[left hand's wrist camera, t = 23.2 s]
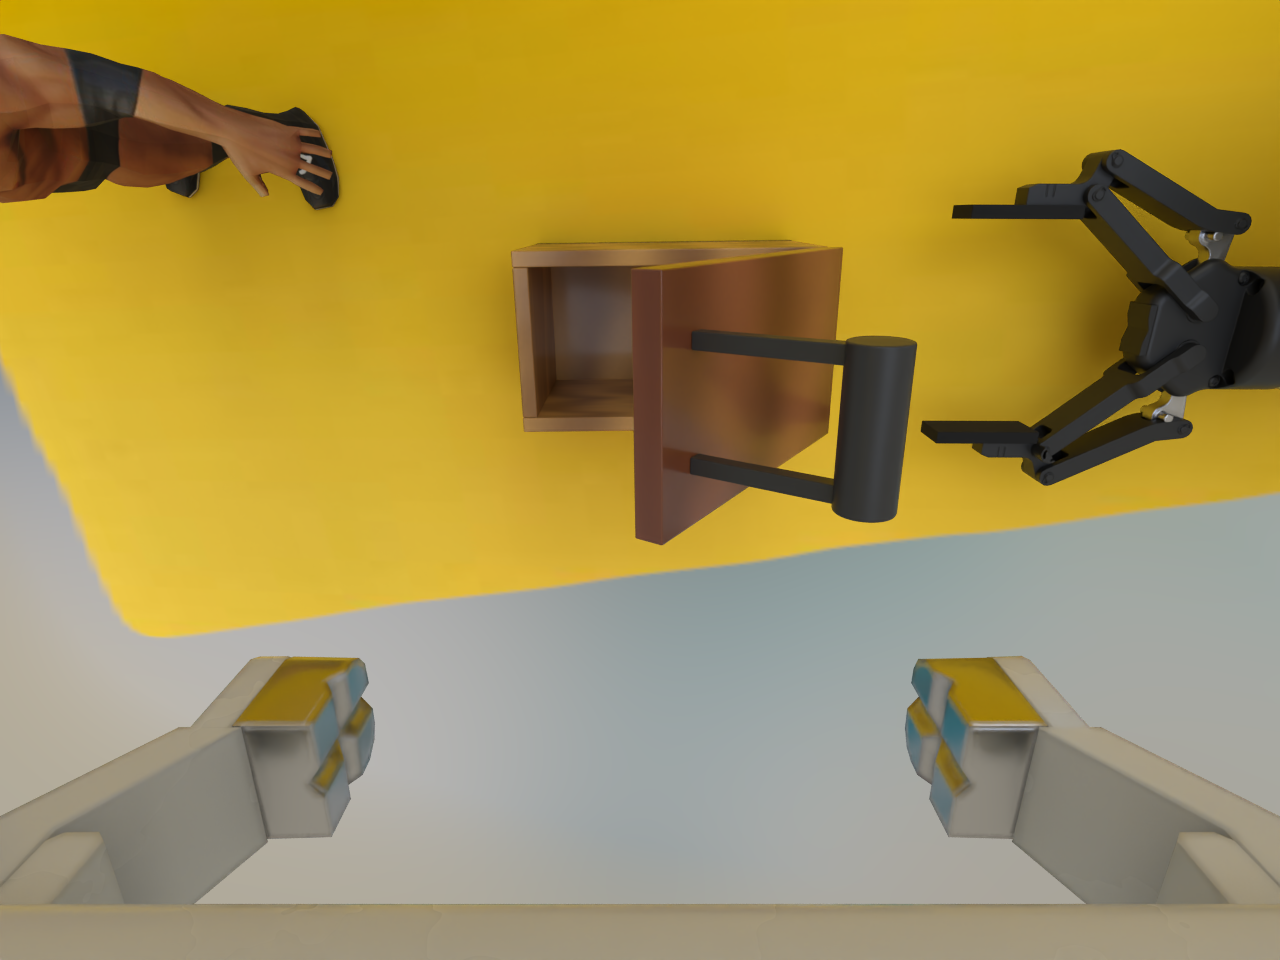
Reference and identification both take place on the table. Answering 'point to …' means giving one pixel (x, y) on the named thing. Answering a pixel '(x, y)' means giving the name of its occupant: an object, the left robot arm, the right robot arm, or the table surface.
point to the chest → (591, 325)
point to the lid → (758, 389)
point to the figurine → (138, 131)
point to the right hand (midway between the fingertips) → (943, 327)
